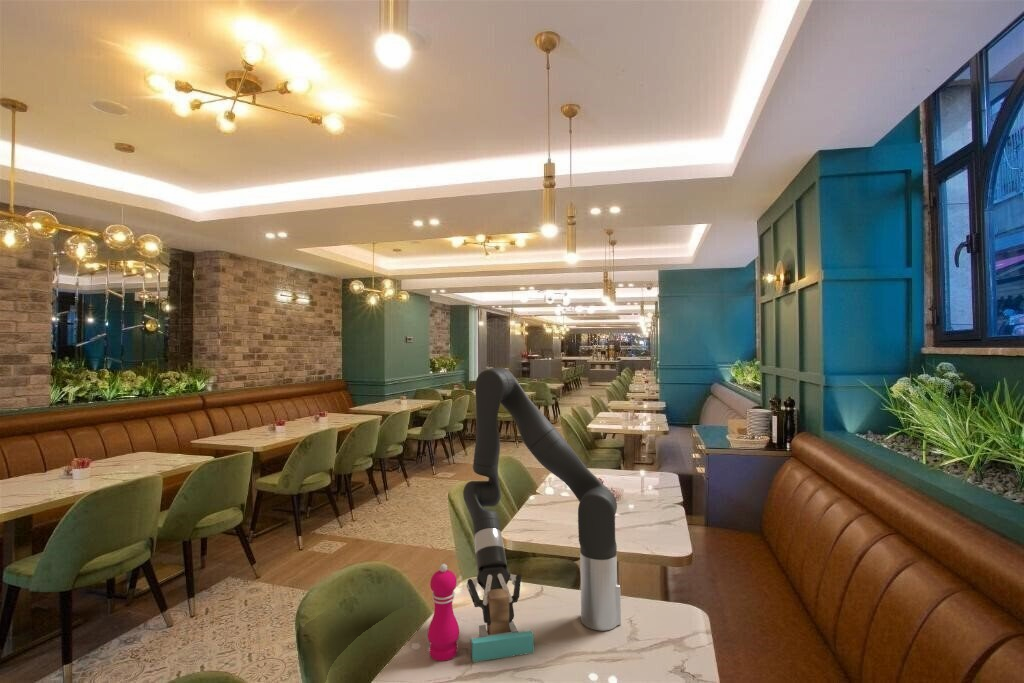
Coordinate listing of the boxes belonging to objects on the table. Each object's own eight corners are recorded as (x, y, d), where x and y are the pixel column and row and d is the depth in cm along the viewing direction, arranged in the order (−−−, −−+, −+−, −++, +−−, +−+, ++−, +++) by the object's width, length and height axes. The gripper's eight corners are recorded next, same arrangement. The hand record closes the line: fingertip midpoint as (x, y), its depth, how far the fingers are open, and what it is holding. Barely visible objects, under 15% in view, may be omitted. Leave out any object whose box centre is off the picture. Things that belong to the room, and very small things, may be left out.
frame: (513, 633, 120) (513, 621, 120) (519, 647, 114) (519, 634, 114) (478, 638, 118) (478, 625, 118) (483, 652, 112) (483, 639, 112)
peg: (505, 629, 120) (505, 588, 120) (509, 640, 115) (509, 596, 116) (487, 632, 118) (486, 590, 119) (490, 642, 114) (490, 598, 114)
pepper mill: (453, 664, 108) (453, 572, 109) (422, 660, 110) (422, 569, 111) (463, 645, 115) (463, 559, 116) (434, 642, 117) (434, 556, 118)
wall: (531, 648, 114) (531, 630, 114) (533, 653, 112) (533, 635, 112) (471, 656, 111) (471, 638, 111) (472, 662, 109) (472, 643, 109)
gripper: (463, 547, 123) (471, 621, 111) (519, 541, 126) (532, 613, 114) (461, 560, 128) (467, 632, 116) (514, 554, 131) (526, 624, 119)
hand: (499, 622), depth 115 cm, fingers closed on peg, 4 cm apart
